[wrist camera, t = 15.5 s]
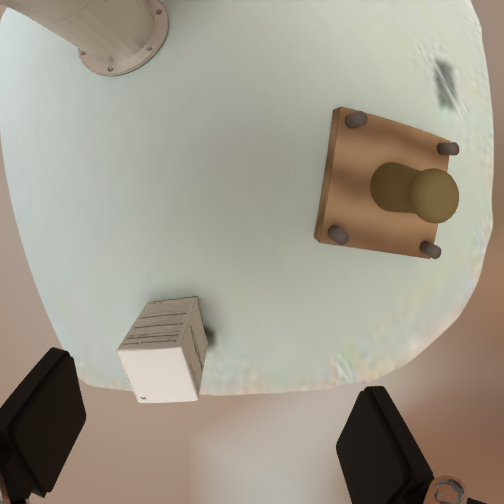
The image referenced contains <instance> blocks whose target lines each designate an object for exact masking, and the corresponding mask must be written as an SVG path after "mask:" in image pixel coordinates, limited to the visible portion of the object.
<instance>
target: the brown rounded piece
mask: <svg viewBox="0 0 504 504" xmlns="http://www.w3.org/2000/svg"><path fill="white" fill-rule="evenodd" d="M370 189H371V195H372V197H373V200H374V202H375V203H376V204H377V205H378V206H379V207H380V208H381V209H383V210H385V211H389V212H400V213H414V214H417V216H418V217H419V218H421V219H422V220H424V221H426V222H428V223H434V224H437V223H442V222H445V221H446V220H448V219H449V218H451V217H452V215H453V214H454V213H455V211H456V209H457V206H458V202H459V191H458V188H457V185H456V183H455V181H454V180H453V178H452V177H451V176H450V175H449V174H448V173H447V172H445V171H443V170H440V169H437V168H431V169H425V170H423V171H420V170H417V169H414V168H411V167H408V166H405V165H402V164H399V163H395V162H388V163H384V164H383V165H381V166H379V167H378V168H377V169H376V171H375V172H374V174H373V176H372V178H371V184H370Z"/></svg>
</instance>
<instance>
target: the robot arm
mask: <svg viewBox="0 0 504 504" xmlns="http://www.w3.org/2000/svg"><path fill="white" fill-rule="evenodd" d="M0 4H1V5H5V6H7V7H9V8H11V9H14V10H16V11H18V12H20V13H21V14H23V15H25V16H27V17H29V18H30V19H32V20H34V21H36V22H38V23H39V24H41V25H43V26H44V27H46V28H48V29H49V30H51V31H53V32H54V33H56V34H57V35H59V36H61V37H62V38H64V39H65V40H67V41H69V42H70V43H72V44H73V45H75V46H76V47H78V52H79V57H80V59H81V61H82V63H83V64H84V65H85V66H86V67H87V68H88V69H89V70H91V71H93V72H95V73H97V74H99V75H104V76H116V75H122V74H125V73H128V72H131V71H133V70H135V69H137V68H139V67H140V66H142V65H143V64H144V63H146V62H147V61H148V60H149V59H151V58H152V57H153V56H154V55H155V54H156V52H157V51H158V50H159V48H160V47H161V45H162V44H163V42H164V40H165V37H166V34H167V31H168V16H167V14H166V11H165V9H164V8H163V6H162V5H161V4H160V2H159V1H158V0H0ZM150 49H152V50H151V51H150ZM112 69H113V70H112ZM85 420H86V412H85V408H84V404H83V400H82V396H81V391H80V387H79V383H78V378H77V373H76V368H75V363H74V359H73V357H71V356H70V354H69V352H68V351H65V350H61V349H58V348H55V347H52V348H51V349H50V350H49V351H48V352H47V353H46V354H45V355H44V356H43V358H42V359H41V360H40V361H39V362H38V363H37V364H36V366H35V367H34V368H33V369H32V370H31V371H30V372H29V374H28V375H27V376H26V377H25V378H24V380H23V381H22V382H21V383H20V384H19V386H18V387H17V388H16V389H15V390H14V392H13V393H12V394H11V395H10V396H9V398H8V399H7V400H6V401H5V403H4V404H3V405H2V407H1V408H0V504H30V501H29V496H30V494H31V492H32V493H34V494H36V495H38V496H41V497H43V498H44V497H45V495H46V493H47V492H51V491H52V489H53V487H54V485H55V483H56V481H57V479H58V476H59V474H60V472H61V470H62V468H63V466H64V463H65V462H66V460H67V457H68V455H69V453H70V451H71V449H72V447H73V445H74V443H75V441H76V439H77V437H78V435H79V433H80V431H81V429H82V427H83V425H84V423H85ZM336 451H337V455H338V458H339V461H340V465H341V468H342V471H343V475H344V478H345V481H346V484H347V488H348V491H349V495H350V498H351V501H352V504H486V503H483V502H480V501H477V500H474V499H471V498H468V491H467V488H466V486H465V484H464V483H463V482H462V481H461V480H460V479H458V478H456V477H454V476H450V475H443V476H439V477H437V478H434V476H433V472H432V471H431V469H430V467H429V465H428V463H427V461H426V459H425V458H424V456H423V454H422V452H421V450H420V448H419V447H418V445H417V443H416V441H415V439H414V438H413V436H412V434H411V432H410V431H409V429H408V427H407V425H406V423H405V422H404V420H403V418H402V416H401V415H400V413H399V411H398V410H397V408H396V406H395V404H394V403H393V401H392V399H391V398H390V396H389V394H388V392H387V391H386V389H385V388H384V387H383V386H371V387H370V386H368V387H366V388H365V389H364V391H361V392H360V393H359V395H358V397H357V400H356V402H355V404H354V407H353V409H352V411H351V413H350V416H349V418H348V420H347V422H346V425H345V427H344V429H343V431H342V433H341V435H340V437H339V439H338V441H337V444H336Z"/></svg>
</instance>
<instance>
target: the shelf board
mask: <svg viewBox="0 0 504 504" xmlns="http://www.w3.org/2000/svg"><path fill="white" fill-rule="evenodd" d="M458 153H459V146H458V144H457V143H455V142H451V141H449V140H446V139H444V138H441V137H438V136H436V135H433V134H430V133H428V132H425V131H422V130H419V129H416V128H413V127H410V126H407V125H404V124H401V123H398V122H395V121H392V120H388V119H385V118H382V117H378V116H375V115H371V114H368V113H364V112H362V111H356V110H353V109H349V108H345V107H339V108H337V109H335V110H334V111H333V117H332V125H331V132H330V140H329V147H328V154H327V161H326V168H325V174H324V181H323V187H322V193H321V199H320V205H319V211H318V217H317V223H316V228H315V234H314V238H315V239H316V240H317V241H318V242H319V243H324V244H332V245H339V246H346V247H353V248H360V249H367V250H374V251H381V252H388V253H394V254H401V255H408V256H414V257H421V258H427V259H430V257H432V258H433V259H437V258H439V257H440V255H441V249H440V247H438V246H436V245H434V241H435V236H436V232H437V227H438V223H437V224H434V223H428V222H426V221H424V220H422V219H421V218H419V217H418V216H417V214H414V213H400V212H389V211H385V210H383V209H381V208H380V207H379V206H378V205H377V204H376V203H375V202H374V200H373V197H372V195H371V189H370V184H371V178H372V176H373V174H374V172H375V171H376V169H377V168H378V167H379V166H381V165H383V164H384V163H388V162H395V163H399V164H402V165H405V166H408V167H411V168H414V169H417V170H420V171H423V170H425V169H431V168H437V169H440V170H443V171H445V172H447V169H448V161H449V155H457V154H458Z"/></svg>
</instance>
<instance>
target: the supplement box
mask: <svg viewBox="0 0 504 504" xmlns="http://www.w3.org/2000/svg"><path fill="white" fill-rule="evenodd" d="M207 345H208V341H207V338H206V334H205V331H204V327H203V323H202V319H201V314H200V310H199V305H198V300H197V297H191V298H183V299H175V300H167V301H159V302H151V303H147V304H146V306H145V307H144V309H143V310H142V312H141V313H140V315H139V316H138V318H137V319H136V321H135V322H134V324H133V326H132V327H131V329H130V330H129V332H128V333H127V335H126V337H125V338H124V340H123V341H122V343H121V344H120V346H119V347H118V349H117V355H118V357H119V360H120V362H121V364H122V367H123V369H124V371H125V374H126V376H127V379H128V381H129V383H130V385H131V388H132V390H133V392H134V394H135V396H136V399H137V401H138V403H163V402H183V401H184V402H185V401H196V400H198V397H199V391H200V385H201V379H202V373H203V368H204V362H205V356H206V351H207Z"/></svg>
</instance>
